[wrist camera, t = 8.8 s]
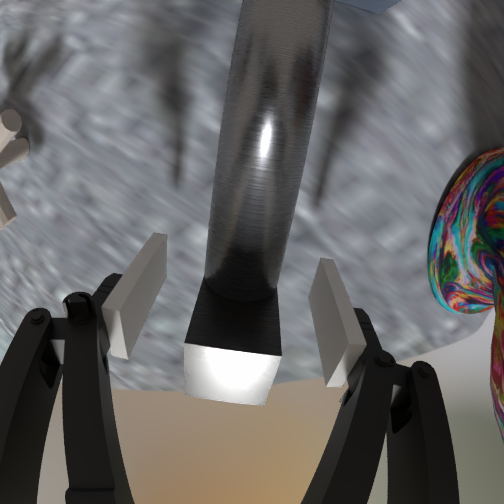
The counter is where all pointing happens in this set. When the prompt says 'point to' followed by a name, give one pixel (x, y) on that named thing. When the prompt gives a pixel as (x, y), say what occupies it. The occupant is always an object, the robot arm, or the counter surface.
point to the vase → (474, 255)
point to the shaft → (255, 198)
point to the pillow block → (371, 4)
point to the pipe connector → (10, 157)
